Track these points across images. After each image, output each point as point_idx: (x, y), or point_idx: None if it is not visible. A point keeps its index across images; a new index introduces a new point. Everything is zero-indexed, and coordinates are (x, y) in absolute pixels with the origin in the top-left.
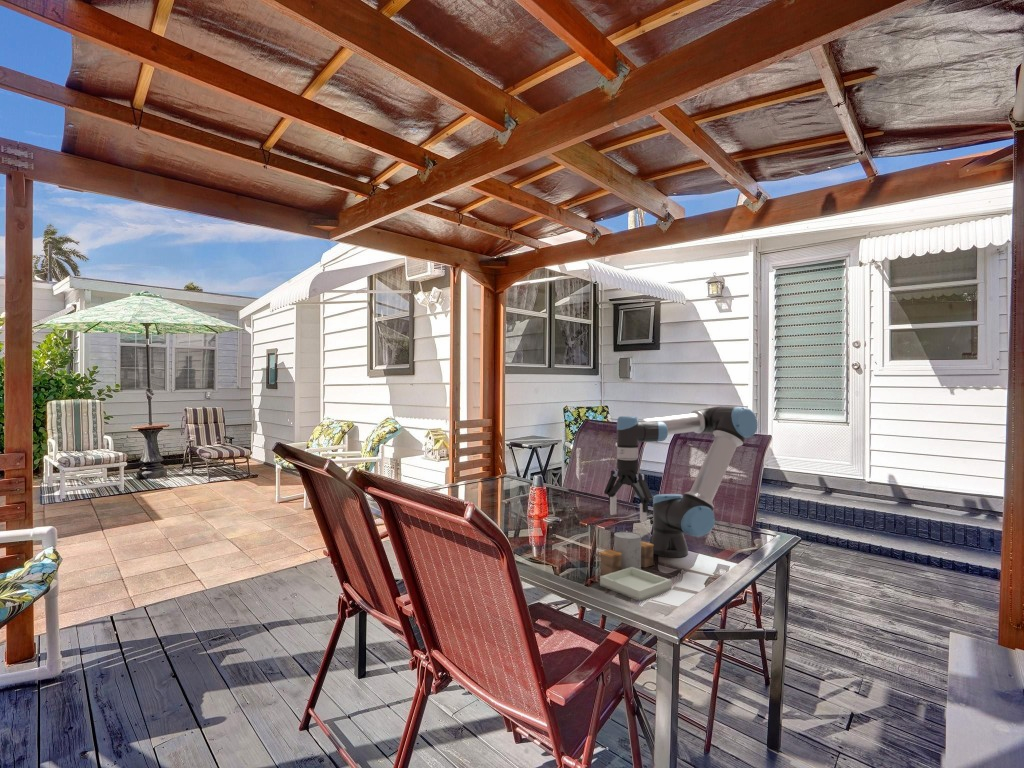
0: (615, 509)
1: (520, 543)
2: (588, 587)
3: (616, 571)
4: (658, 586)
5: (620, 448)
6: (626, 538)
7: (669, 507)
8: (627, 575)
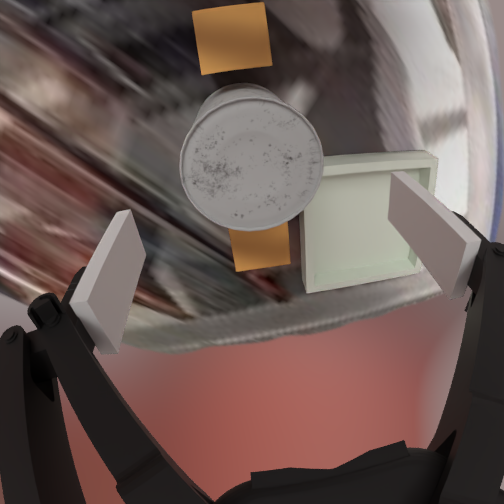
0: (125, 238)
1: None
2: (294, 302)
3: (305, 238)
4: None
5: None
6: (296, 214)
7: None
8: None
